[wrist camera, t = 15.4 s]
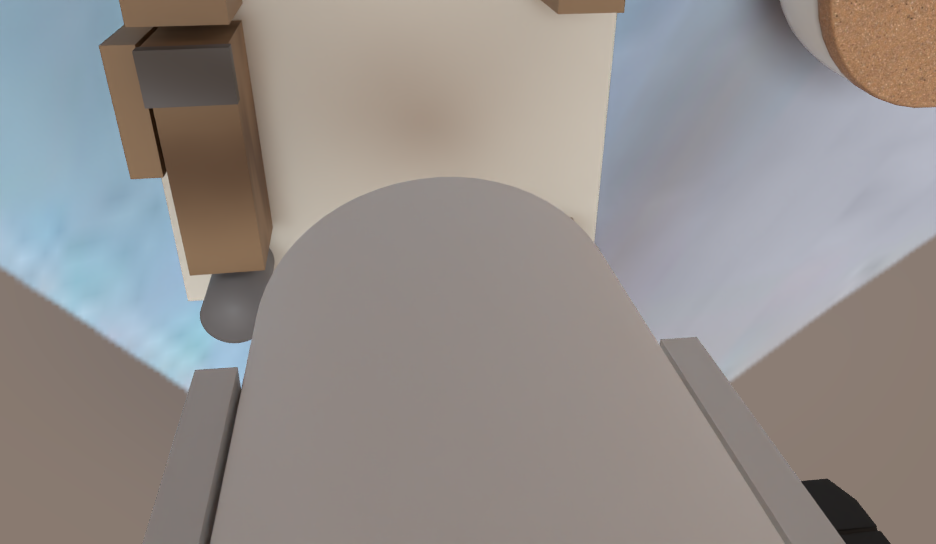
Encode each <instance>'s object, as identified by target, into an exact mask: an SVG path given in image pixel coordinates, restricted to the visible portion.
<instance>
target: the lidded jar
mask: <svg viewBox="0 0 936 544" xmlns="http://www.w3.org/2000/svg"><path fill="white" fill-rule="evenodd" d="M780 4H781V7H782V10H783V13H784V15H785V17H786V19H787V22H788V24H789V26H790V28H791V29H792V31H793V32H794V34H795V35H796V37H797V38H798V40H799V41H800V42H801V43H802V44H803V46H804V47H805V48H806V49H807V50H808V51H809V52H810V53H811V54H812V55H813V56H814V57H815V58H816V59H817V60H819V61H820V62H821V63H822V64H824V65H825V66H826V67H827V68H829V69H830V70H832V71H834V72H835V73H837V74H839V75H840V76H842V77H844V78H845V79H847V80H849V81H851V82H852V83H853V84H854V85H855V86H857V87H859V88H860V89H862V90H863V91H865V92H867V93H868V94H870V95H872V96H874V97H876V98H878V99H881V100H883V101H886V102H889V103H892V104H895V105H899V106H906V107H913V108H922V107H936V0H780Z"/></svg>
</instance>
